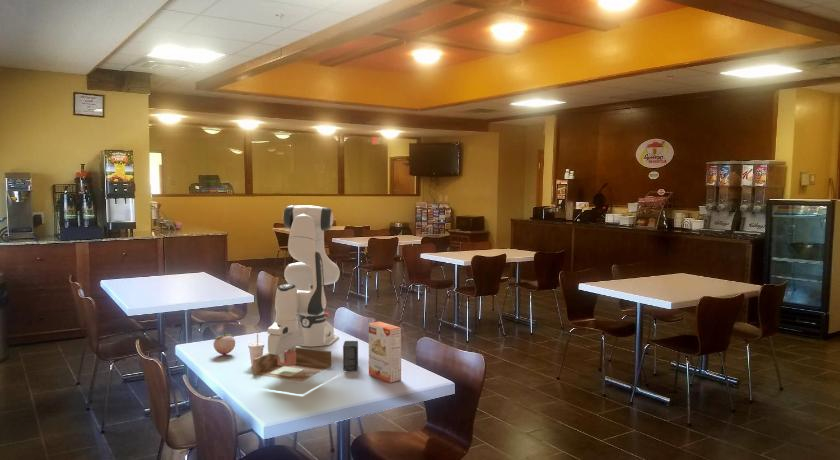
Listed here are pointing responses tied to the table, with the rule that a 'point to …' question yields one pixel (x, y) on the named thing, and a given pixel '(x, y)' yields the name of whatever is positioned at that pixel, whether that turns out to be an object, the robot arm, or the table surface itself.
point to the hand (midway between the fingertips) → (287, 360)
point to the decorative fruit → (224, 344)
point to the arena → (305, 360)
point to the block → (288, 358)
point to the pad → (286, 371)
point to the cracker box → (385, 351)
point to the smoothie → (255, 350)
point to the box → (350, 355)
